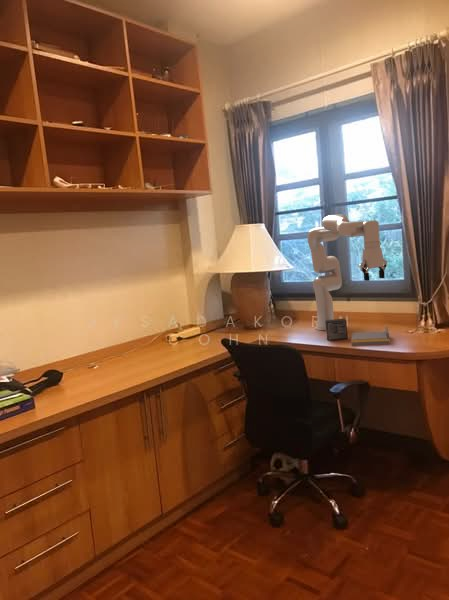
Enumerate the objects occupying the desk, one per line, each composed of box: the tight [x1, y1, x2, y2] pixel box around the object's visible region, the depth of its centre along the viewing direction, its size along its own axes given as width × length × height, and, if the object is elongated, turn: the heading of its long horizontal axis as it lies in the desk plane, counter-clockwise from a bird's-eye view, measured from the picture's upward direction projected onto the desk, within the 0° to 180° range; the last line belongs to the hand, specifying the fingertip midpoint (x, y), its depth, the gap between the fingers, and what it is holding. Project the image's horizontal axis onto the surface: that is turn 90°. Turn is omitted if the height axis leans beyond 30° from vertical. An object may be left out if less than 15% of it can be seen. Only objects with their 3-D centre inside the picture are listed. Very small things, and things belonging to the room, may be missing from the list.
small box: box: [325, 318, 349, 342], centre depth 258 cm, size 11×6×10 cm, turn 84°
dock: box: [350, 326, 391, 346], centre depth 245 cm, size 16×18×5 cm
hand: (374, 279), depth 243 cm, fingers open, 9 cm apart
